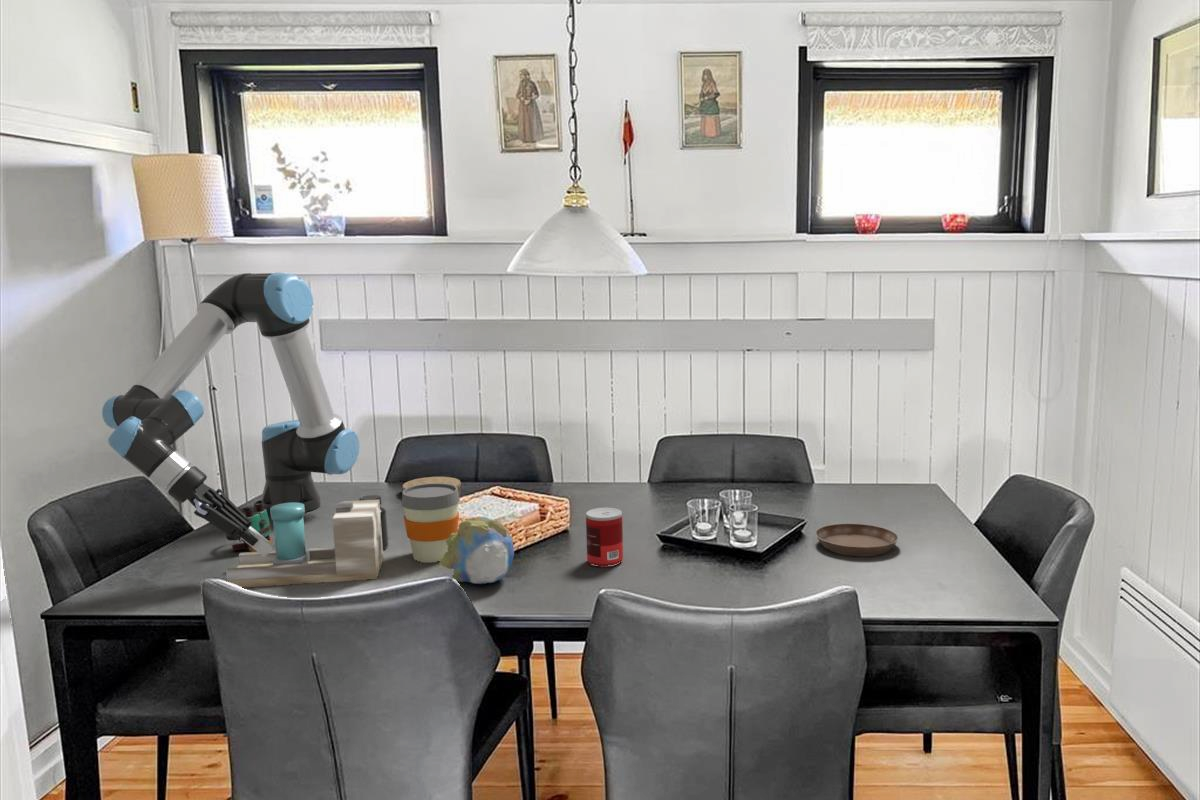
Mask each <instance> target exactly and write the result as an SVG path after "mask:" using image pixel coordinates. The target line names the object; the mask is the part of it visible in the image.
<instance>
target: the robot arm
mask: <svg viewBox="0 0 1200 800" xmlns="http://www.w3.org/2000/svg"><path fill="white" fill-rule="evenodd" d="M312 306H314V297H313V293H312V290H311V288H310V287H309V285H308V284H307V282H306V281H305V280H304V279H303V278H301V277H300V276H298V275H296V274H293V273H284V272H281V271H280V272H270V273H269V272H268V273H266V272H265V273H264V272H260V273H259V272H258V273H252V272H247V273H245V272H244V273H240V274H237V275H234V276H232V277H230V278H228V279H226V280H224V281H223V282H222V283H220V284H218V286H216V287H215V288H214V289H213V290H212V291H211V292H210V293H209V294H208V295H207V296H206V297H205V298H204V299H203V300H202V301H201V302H200V303H199V304H198V305H197V307H196V314H195V316H194V317H193V318H192V319H191V320H189V322H188V323H187V325H186V326H184V328H183V329H182V330H181V331H180V333H178V335H176V337H175V338H174V339H173V340H172V341H171V342H170V344H168V345H167V347H166V348H165V349H164V350H163V351H162V352H161V354H160V355H159V356H158V357H157V358H156V359H155V360H154V362H153V363H152V364H151V365H150V366H149V367H148V368H147V369H146V371H145V372H143V374H142V375H141V376H140V377H139V378H138V380H137V381H136V382H135V383H134V384H133V385H132V387H130V388H129V390H128V391H127V392H126V393H125V394H119V395H115V396H112V397H110V398H108V399H106V401H105V402H104V404H103V406H102V410H101V415H102V419H103V422H104V423H105V425H106V426H107V427H108V428H110V429H113V431H112V432H111V433H110V436H109V437H108V440H107V443H108V445H109V446H110V447H111V448H112V449H113V450H114V452H116V453H117V454H118V455H119V456H120V457H121V458H122V459H125V460H126V461H127V462H128V463H129V464H131V465H132V466H133V467H135V468H136V469H137V470H138V471H139V472H141V473H143V475H145V476H146V477H147V478H149V479H150V480H151V481H152V485H154V486H158V487H160V488H161V490H164V491H166V490H168V491H167V494H168V495H169V496H170V497H171V498H173V499H174V500H175V501H176V502H178V503H179V504H183V503H184V502H186V501H187V500H188V502H189V503H190V505H192V506H193V507H194V508H195V510H194V511H193V513H194V515H195V516H196V517H199V518H202V519H203V520H205V521H207V522H208V523H210V524H211V525H213V526H214V527H216V528H217V529H218V530H220V531H222V532H223V533H225V535H226V534H228V535H229V536H231V537H232V538H235V539H234V540H233V541H239V540H238V539H239V538H241V539H240V540H244V541H245V542H246V543H247V544H249V545H250V546H251V547H252V548H253V549H255V550H256V551H257V552H258V553H260V554H261V555H262V556H263V557H265V556H266V555H267V554H268V553H269V552H270V551H273V549H274V547H275V544H272V543H273V542H272V543H271V542H269V541H268V540H267V539H266V538H264V537H263V536H262V535H261V534H260V533H258V532H257V531H256V530H255V529H254V528H252V527H251V526H250V525H251V524H252V523H253V522H252V521H250V519H249V518H248V517H247V516H246V514H245V512H243V511H242V510H241V509H240V508H239V507H238V506H237V505H236V504H234V503H233V502H232V500H230V499H229V497H227V496H226V495H225V493H224V492H223V490H222V489H221V488H217V490H215V489H213V488H212V487H210V486H208V485H207V484H205V483H204V482H205V481H206V480H207V478H208V477H207V474H205V473H204V472H203V471H202V470H200V468H198V467H197V466H194V465H193V466H191V464H192V462H191V460H189V459H188V458H186V457H185V456H184V455H183V454H182V453H181V452H179V451H177V449H175V448H174V447H173V446H172V445H174V443H175V442H177V441H178V440H179V439H180V438H181V437H182V436H183V435H184V434H186V432H188V431H189V430H190V429H191V428H193V427H194V426H195V425H196V423H197V422H199V420H200V419H201V418H202V417H203V415H204V413H205V408H204V405H203V403H202V401H201V399H200V398H199V397H198V396H197V395H196V394H195V393H193V392H192V391H189V390H186V389H179V388H180V386H181V385H182V384H183V383H184V382H185V381H186V380H187V379H188V377H189V376H190V375H191V374H192V372H194V370H195V369H196V368H197V367H198V366H199V365H200V363H202V361H203V360H204V359H205V358H206V356H207V355H208V354H209V353H210V352H211V351H212V350H213V348H215V346H216V345H217V343H218V342H220V340H221V339H222V337H223V336H224V335H229V334H231V333H233V332H234V330H235V329H236V328H237V327H238V326H241V325H242V324H245V323H257V326H258V330H259V332H260V335H261V336H262V337H263V338H266V339H268V340H269V341H270V343H271V345H272V348H273V351H274V355H275V357H276V359H277V363H278V366H279V369H280V371H281V374H282V377H283V380H284V383H285V385H286V386H285V387H286V388H287V391H288V393H289V397H290V400H291V403H292V405H293V408H294V411H295V414H296V416H297V419H293V420H292V419H291V420H286V421H281V422H276V423H272V424H268V425H265V426H264V427H263V429H262V430H261V431H262V432H261V447H262V449H261V450H262V457H263V467H264V468H263V469H264V477H265V479H264V480H265V483H264V487H263V491H262V493H261V494H262V495H261V499H260V500H263V502H264V505H263V509H266V511H267V515H270V516H271V512H270V508H271V507H272V506H275V505H278V504H282V503H293V502H295V503H302V504H304V508H305V513H306V512H309V511H315V510H316V509H317V508H320V507H321V504H322V503H321V496H320V493H319V491H318V488H317V486H316V484H315V482H314V479H313V476H312V473H318V474H327V475H328V476H329V475H330V476H331V475H344V474H346V473H348V472H349V471H351V470H352V468H353V467H354V466H355V464H356V462H357V460H358V456H359V454H360V448H361V447H360V439H359V436H358V434H357V433H356V432H355V431H354V430H352V429H350V428H345V423H344V421H343V418H342V417H341V416H340V415H339V414H337V413H334V411H333V407H332V405H331V404H332V403H331V401H330V399H329V396H328V393H327V389H326V386H325V384H324V381H323V377H322V375H321V374H322V373H321V371H320V368H319V365H318V363H317V362H318V361H317V359H316V356H315V352H314V350H313V348H312V344H311V342H310V339H309V335H308V332H307V328H308V326H309V325H310V323H311V322H310V321H311V320H310V317H311V315H312V313H313V311H314V309H313V307H312ZM178 389H179V390H178Z"/></svg>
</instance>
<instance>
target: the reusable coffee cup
mask: <svg viewBox="0 0 1200 800" xmlns="http://www.w3.org/2000/svg"><path fill="white" fill-rule="evenodd" d="M459 503H460V494H459V493H458V488H457V487H456V486H454V485H451V484H443V483H431V484H421V485H416V486H412V487H409V488H406V489H405V490H403V489H402V494H401V506H402V507H403V511H404V515H403V520H404V525H405V530H406V531H405V532H406V537H407V538H408V539H409V543H410V547H411V551H412V552H411V553H412V557H413V559H414V561H416V560H417V562H419V561H420V562H419V563H438V562H437V561H440V558H442V557H444V554H445V552H448V547H449V546H448V545H447V543H446V540H447V539H448V538H449V537H450V535H451V534H452V533H456V532H457V530H458V528H459V519H460V512H459V511H458V508H459V507H458V506H459Z"/></svg>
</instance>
